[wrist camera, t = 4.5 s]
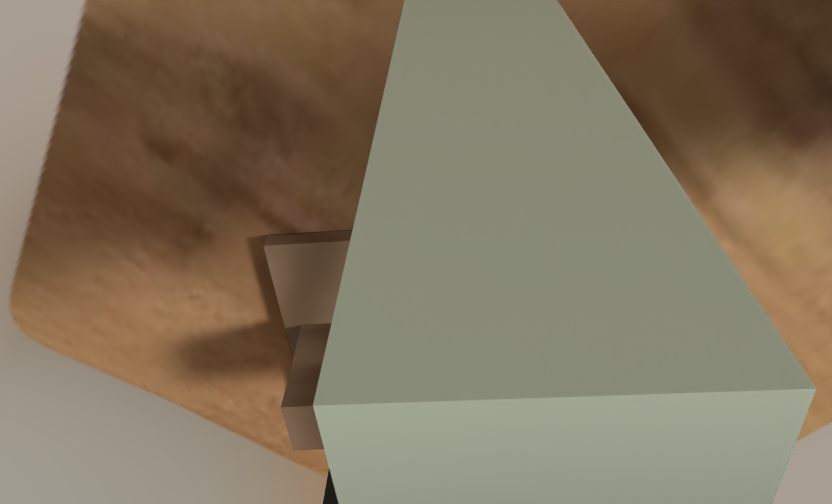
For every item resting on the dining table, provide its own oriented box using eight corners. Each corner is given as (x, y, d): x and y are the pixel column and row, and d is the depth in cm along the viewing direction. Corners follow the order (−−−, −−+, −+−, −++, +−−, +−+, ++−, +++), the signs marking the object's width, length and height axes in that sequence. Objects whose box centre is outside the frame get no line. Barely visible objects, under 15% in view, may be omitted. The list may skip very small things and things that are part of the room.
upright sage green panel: (542, -23, 15) (816, 388, 4) (533, 352, 21) (625, 884, 11) (406, -11, 15) (313, 405, 4) (440, 356, 22) (437, 879, 11)
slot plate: (575, 216, 32) (608, 303, 26) (561, 404, 40) (584, 503, 34) (267, 235, 33) (232, 323, 27) (313, 415, 41) (294, 512, 35)
